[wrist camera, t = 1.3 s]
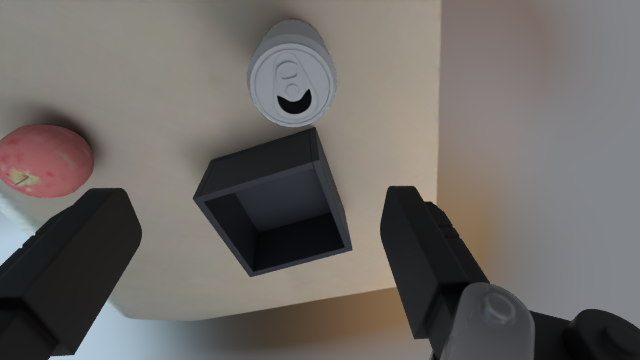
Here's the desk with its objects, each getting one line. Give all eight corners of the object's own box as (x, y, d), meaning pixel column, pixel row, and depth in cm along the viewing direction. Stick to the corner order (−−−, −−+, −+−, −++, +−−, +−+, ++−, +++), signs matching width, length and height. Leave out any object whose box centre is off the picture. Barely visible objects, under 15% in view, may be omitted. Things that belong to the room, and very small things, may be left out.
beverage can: (272, 91, 31) (260, 140, 21) (253, 25, 28) (229, 49, 18) (329, 78, 31) (345, 123, 21) (318, 11, 27) (331, 26, 18)
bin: (315, 127, 34) (319, 159, 28) (344, 210, 42) (352, 250, 35) (210, 160, 36) (192, 198, 29) (256, 234, 43) (250, 277, 37)
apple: (87, 181, 36) (41, 225, 30) (22, 141, 33) (-48, 181, 26) (121, 146, 34) (78, 186, 27) (54, 99, 30) (-13, 131, 24)
